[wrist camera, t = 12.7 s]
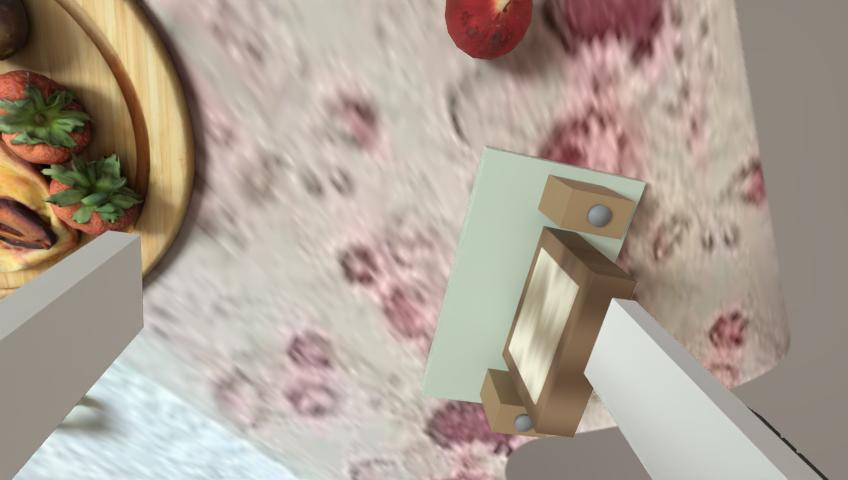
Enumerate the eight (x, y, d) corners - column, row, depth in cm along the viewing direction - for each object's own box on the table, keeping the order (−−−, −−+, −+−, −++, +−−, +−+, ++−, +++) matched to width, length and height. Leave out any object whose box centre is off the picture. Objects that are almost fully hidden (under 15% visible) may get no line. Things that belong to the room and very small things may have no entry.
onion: (508, 63, 36) (542, 61, 28) (435, 56, 35) (450, 52, 28) (520, -21, 34) (560, -48, 26) (443, -30, 33) (461, -60, 26)
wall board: (483, 145, 38) (505, 160, 31) (636, 178, 40) (686, 199, 33) (420, 385, 45) (427, 437, 39) (552, 402, 48) (579, 454, 41)
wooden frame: (541, 225, 39) (593, 273, 30) (577, 232, 40) (638, 282, 30) (500, 354, 43) (533, 432, 34) (533, 359, 44) (575, 437, 34)
